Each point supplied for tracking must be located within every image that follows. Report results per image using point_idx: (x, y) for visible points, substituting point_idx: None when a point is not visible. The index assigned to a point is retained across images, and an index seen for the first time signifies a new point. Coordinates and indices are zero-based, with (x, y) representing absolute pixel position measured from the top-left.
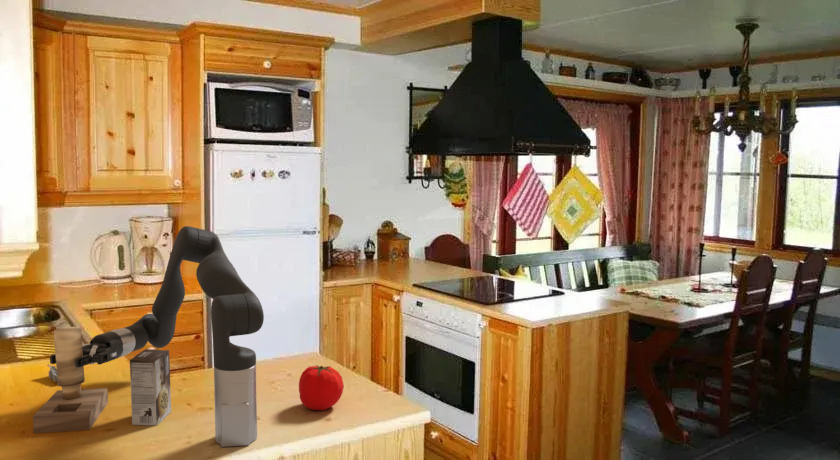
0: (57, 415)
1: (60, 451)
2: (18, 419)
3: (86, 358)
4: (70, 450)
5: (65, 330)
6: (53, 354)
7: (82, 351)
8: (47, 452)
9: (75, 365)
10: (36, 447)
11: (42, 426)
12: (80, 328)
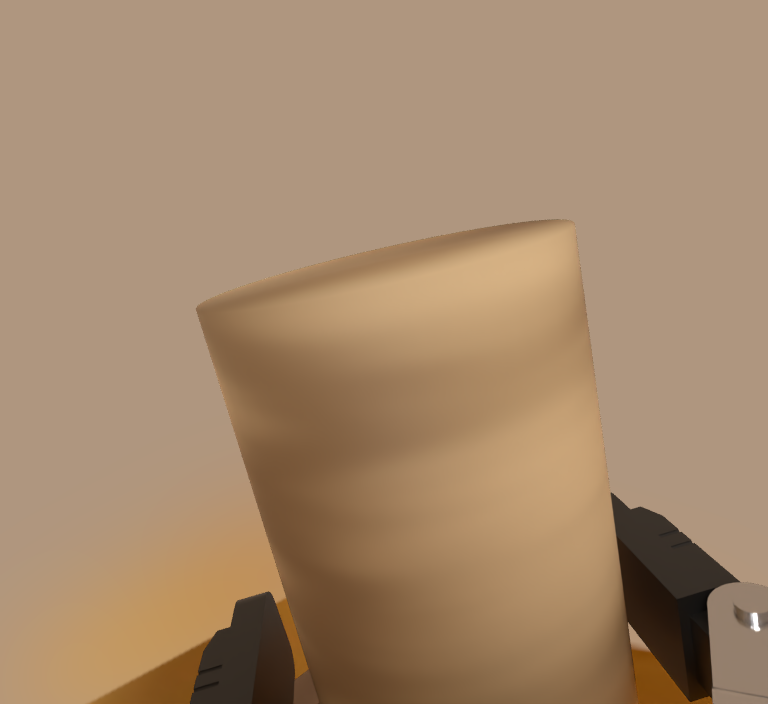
0: (295, 683)
1: (165, 668)
2: (674, 700)
3: (201, 699)
4: (131, 693)
5: (362, 260)
6: (626, 508)
7: (335, 680)
8: (207, 640)
9: (287, 640)
10: None
11: None
12: (224, 309)
